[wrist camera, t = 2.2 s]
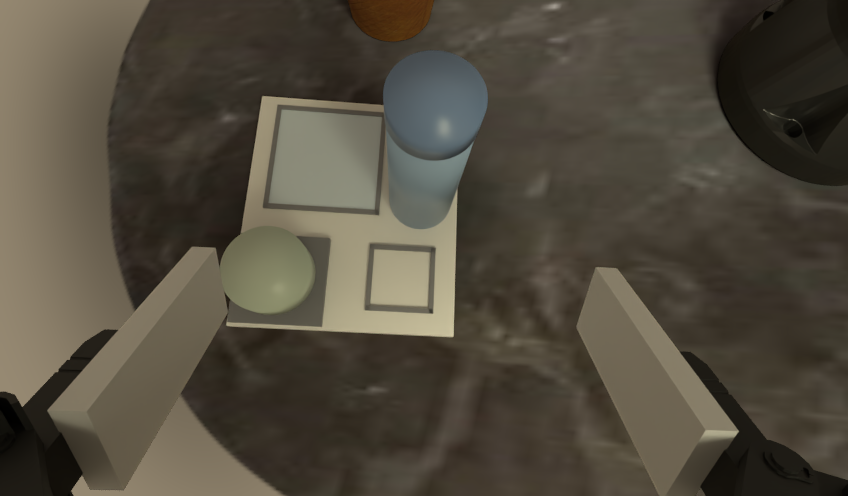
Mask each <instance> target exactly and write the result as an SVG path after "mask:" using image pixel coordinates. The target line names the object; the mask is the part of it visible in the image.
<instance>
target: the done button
mask: <svg viewBox="0 0 848 496" xmlns="http://www.w3.org/2000/svg"><path fill="white" fill-rule="evenodd" d="M220 273H221V278H222V284H223V289H224V291H225V293H226V295H227V296H228V297H229V298H230V299H231V300H232V301H233V302H234V303H235V304H237V305H238V306H240V307H242V308H244V309H247V310H250V311H253V312H256V313H259V314H263V315H280V314H284V313H287V312H289V311H291V310H293V309H295V308H296V307H298V306H299V305H300V304H301V303H302V302H303V301H304V300H305V299H306V298H307V297H308V295H309V294H310V292H311V290H312V288H313V285H314V282H315V274H316V271H315V264H314V260H313V258H312V256H311V254H310V252H309V251H308V250H307V248H306V247H305V246H304V245H303V243H302V242H301V241H300V240H299V239H298V238H297V237H296V236H295V235H294V234H293V233H291V232H289V231H288V230H285V229H283V228H280V227H275V226H260V227H255V228H252V229H249V230H247V231H245V232H243V233H242V234H240V235H239V236H237V237H236V238H235V239H234V240H233V241H232V242H231V243H230V244H229V246H228V247H227V248H226V250H225V252H224V254H223V256H222V259H221V263H220Z"/></svg>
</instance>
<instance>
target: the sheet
mask: <svg viewBox="0 0 848 496" xmlns="http://www.w3.org/2000/svg"><path fill="white" fill-rule="evenodd" d="M456 222H457V191H456V193H455V196H454V199H453V202H452V205H451V207H450V210H449V213H448V214H447V216H446V217H445V219H444V220H443V221H442V222H441V223H439V224H438V225H436V226H434V227H431V228H428V229H414V228H410V227H408V226H406V225H404V224H402V223H401V222H400V221H399V220H398V219H397V218H396V217H395V216H394V214H393V212H392V210H391V207H390V202H389V182H388V161H387V139H386V125H385V119H384V105H375V104H361V103H348V102H335V101H322V100H309V99H295V98H282V97H269V96H262V101H261V108H260V114H259V120H258V127H257V133H256V140H255V146H254V152H253V159H252V165H251V171H250V178H249V184H248V190H247V197H246V203H245V210H244V216H243V222H242V229H241V234H242V233H243V232H245V231H247V230H249V229H252V228H255V227H260V226H275V227H280V228H283V229H285V230H288V231H289V232H291V233H293V234H294V235H295V236H296V237H297V238H298V239H299V240H300V241H301V242H302V243H303V245H304V246H305V247H306V248H307V250H308V251H309V252H310V254H311V256H312V258H313V260H314V264H315V271H316V274H315V282H314V285H313V288H312V290H311V292H310V294H309V295H308V297H307V298H306V299H305V300H304V301H303V302H302V303H301V304H300V305H299V306H298V307H296V308H295V309H293V310H291V311H289V312H287V313H284V314H280V315H263V314H259V313H256V312H253V311H250V310H247V309H244V308H242V307H240V306H238V305H237V304H235V303H234V302H233V301H232V300H231V299H230V305H229V311H228V318H227V324H226V326H231V327H251V328H272V329H292V330H313V331H334V332H355V333H375V334H396V335H417V336H437V337H454V298H455V260H456Z"/></svg>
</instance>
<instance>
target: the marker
mask: <svg viewBox="0 0 848 496" xmlns="http://www.w3.org/2000/svg"><path fill="white" fill-rule="evenodd" d="M383 102H384V119H385V125H386V139H387V161H388V182H389V202H390V207H391V210H392V212H393V214H394V216H395V217H396V218H397V219H398V220H399V221H400V222H401V223H402V224H404V225H406V226H408V227H410V228H414V229H428V228H431V227H434V226H436V225H438V224H439V223H441V222H442V221H443V220H444V219H445V217H446V216H447V214H448V213H449V210H450V207H451V205H452V202H453V199H454V196H455V193H456V191H457V188H458V185H459V182H460V179H461V176H462V174H463V171H464V168H465V165H466V162H467V159H468V157H469V154H470V151H471V148H472V145H473V143H474V140H475V138H476V137H477V134H478V132H479V129H480V126H481V123H482V121H483V118H484V115H485V112H486V109H487V104H488V93H487V88H486V85H485V82H484V80H483V78H482V76H481V75H480V73H479V72H478V71H477V70H476V68H475V67H474V66H473V65H471V64H470V63H469V62H468V61H466V60H465V59H463V58H461V57H460V56H458V55H455V54H452V53H449V52H445V51H439V50H428V51H421V52H417V53H414V54H411V55H409V56H407V57H405V58H404V59H402V60H401V61H400V62H398V63H397V64H396V65H395V66H394V67H393V68H392V70H391V71H390V73H389V74H388V76H387V78H386V81H385V84H384V90H383Z"/></svg>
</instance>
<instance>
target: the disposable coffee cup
mask: <svg viewBox="0 0 848 496" xmlns="http://www.w3.org/2000/svg"><path fill="white" fill-rule="evenodd" d="M348 2H349V6H350V9H351V14H352V17H353V19H354V21H355V23H356V24H357V26H358V27H359V28H360V29H361V30H362V31H363V32H365V33H366V34H367V35H369V36H371V37H373V38H376V39H379V40H383V41H401V40H406V39H409V38H411V37H413V36H415V35H417V34H418V33H419V32H420V31H421V30H422V29H423V28H424V27H425V26H426V24H427V23H428V21H429V18H430V14H431V10H432V6H433V3H434V0H348Z"/></svg>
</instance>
